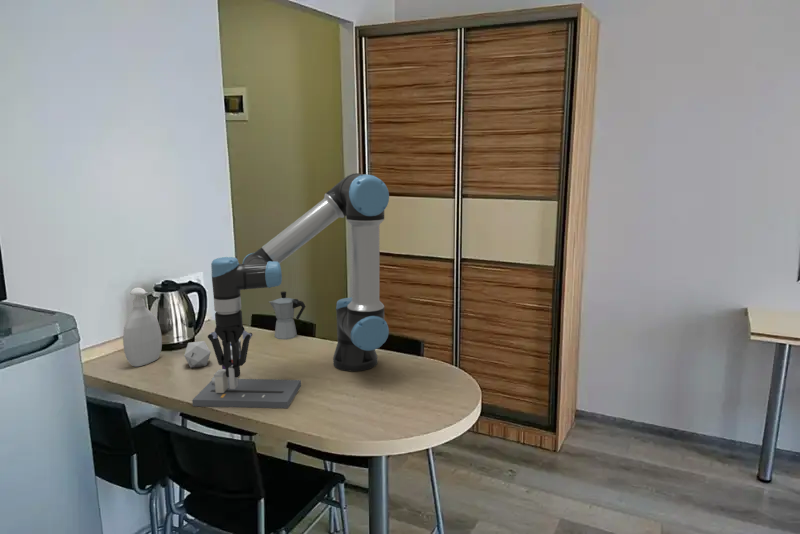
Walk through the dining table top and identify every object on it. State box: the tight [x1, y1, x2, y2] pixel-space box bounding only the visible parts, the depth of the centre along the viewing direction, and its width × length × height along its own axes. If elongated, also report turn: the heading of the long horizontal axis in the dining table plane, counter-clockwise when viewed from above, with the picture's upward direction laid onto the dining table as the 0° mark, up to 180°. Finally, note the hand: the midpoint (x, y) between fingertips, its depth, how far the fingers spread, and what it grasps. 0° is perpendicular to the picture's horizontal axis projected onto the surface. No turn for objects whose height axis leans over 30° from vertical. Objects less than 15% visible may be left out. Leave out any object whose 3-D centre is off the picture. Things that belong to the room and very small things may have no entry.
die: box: [183, 340, 211, 369], centre depth 204 cm, size 8×9×10 cm
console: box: [191, 376, 302, 409], centre depth 179 cm, size 28×16×4 cm, turn 85°
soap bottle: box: [122, 287, 163, 368], centre depth 204 cm, size 14×8×27 cm, turn 151°
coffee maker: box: [268, 290, 306, 340], centre depth 232 cm, size 15×9×18 cm, turn 80°
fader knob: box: [213, 368, 229, 393], centre depth 177 cm, size 3×4×6 cm, turn 175°
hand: (234, 386), depth 177 cm, fingers closed
